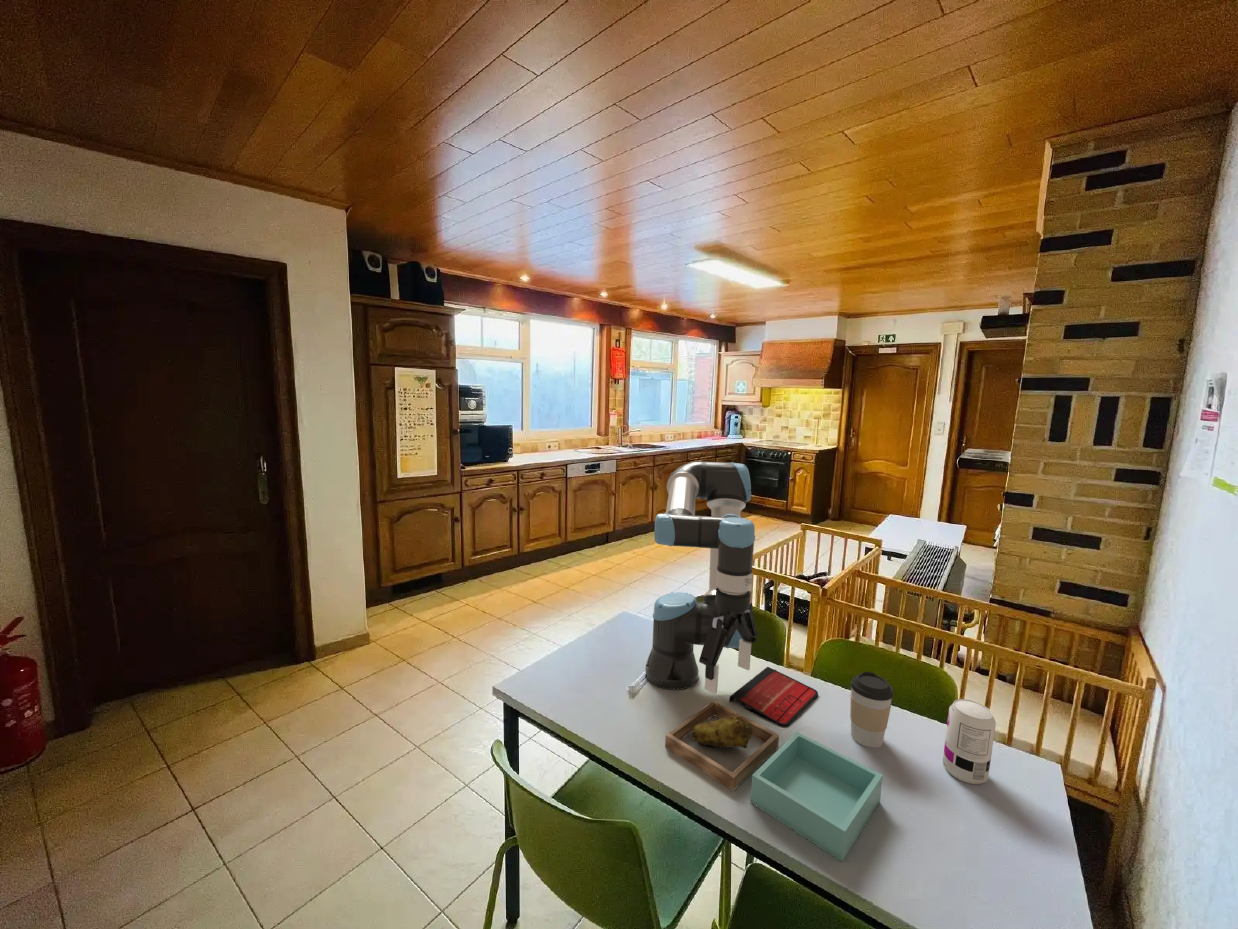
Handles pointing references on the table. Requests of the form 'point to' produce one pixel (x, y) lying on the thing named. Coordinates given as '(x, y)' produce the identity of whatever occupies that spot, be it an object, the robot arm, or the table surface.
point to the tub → (817, 793)
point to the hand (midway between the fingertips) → (728, 679)
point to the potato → (724, 732)
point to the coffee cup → (869, 708)
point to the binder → (775, 696)
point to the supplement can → (969, 741)
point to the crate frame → (711, 766)
